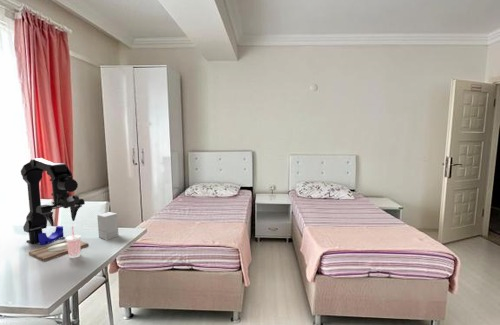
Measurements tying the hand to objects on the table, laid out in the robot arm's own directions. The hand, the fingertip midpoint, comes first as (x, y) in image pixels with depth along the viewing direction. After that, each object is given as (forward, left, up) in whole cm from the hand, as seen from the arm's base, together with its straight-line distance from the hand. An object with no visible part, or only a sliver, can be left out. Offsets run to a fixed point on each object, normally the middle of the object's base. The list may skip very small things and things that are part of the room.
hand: (63, 223), depth 135 cm
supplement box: (-1, +23, -14) cm, 27 cm away
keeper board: (-5, 0, -14) cm, 15 cm away
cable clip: (-23, +4, -15) cm, 27 cm away
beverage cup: (+8, 0, -14) cm, 16 cm away
